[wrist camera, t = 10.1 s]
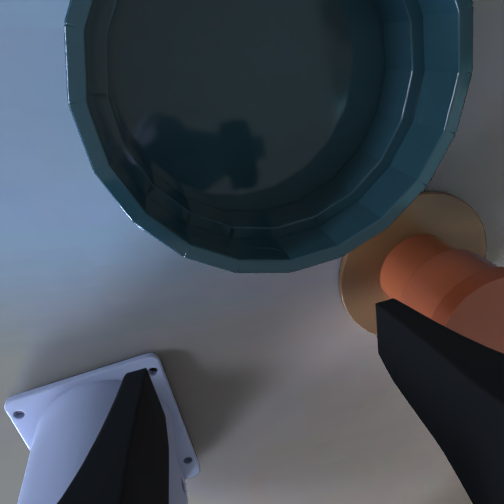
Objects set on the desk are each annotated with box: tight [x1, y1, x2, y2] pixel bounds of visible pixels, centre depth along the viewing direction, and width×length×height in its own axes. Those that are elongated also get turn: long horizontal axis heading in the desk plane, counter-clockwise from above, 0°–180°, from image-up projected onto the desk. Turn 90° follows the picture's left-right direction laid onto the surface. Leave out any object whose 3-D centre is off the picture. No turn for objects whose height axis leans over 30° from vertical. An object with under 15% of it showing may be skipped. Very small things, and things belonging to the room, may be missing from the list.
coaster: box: [339, 191, 486, 335], centre depth 26 cm, size 9×9×1 cm
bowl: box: [64, 0, 473, 273], centre depth 18 cm, size 14×14×5 cm
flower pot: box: [380, 234, 504, 353], centre depth 23 cm, size 6×6×6 cm
